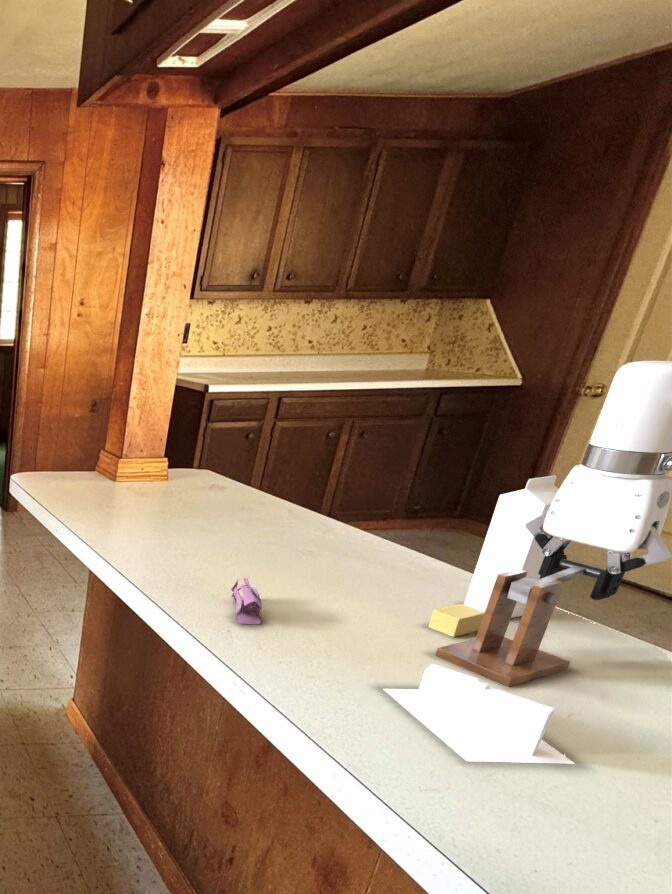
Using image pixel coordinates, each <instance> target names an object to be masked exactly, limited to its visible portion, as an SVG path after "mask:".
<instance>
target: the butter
mask: <svg viewBox="0 0 672 894" xmlns="http://www.w3.org/2000/svg"><path fill="white" fill-rule="evenodd" d="M484 613H485V612H483V611H480V610H477V609H474V608H472V607H469V606H466V605H464V603H457V604H453V605H449V606H445V607H439V608H435V609H433V611H432V614H431V617H430V621H429V624H428V628H429V629H432V630H434V631H437V632H439V633H441V634H445V635H447V636H450V637H453V638H455V637H459V636H462V635H468V634H471V633H474V632H478V630H479V627H480V625H481V622H482V619H483V616H484Z"/></svg>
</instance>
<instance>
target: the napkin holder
mask: <svg viewBox="0 0 672 894" xmlns="http://www.w3.org/2000/svg"><path fill="white" fill-rule="evenodd" d="M382 690H383V691H384V692H385V693H387V695H389V696H390V697H391V698H392V699H393V700H394V701H396V702H397V703H398V704H399V705H400V706H402V707H403V708H404V709H405V710H406V711H407V712H408V713H410V714H411V715H412V716H413V717H414V718H415V719H417V720H418V721H419V722H420V723H421V724H422V725H424V727H426V728H427V729H428V730H430V731H431V732H432V733H433V734H434V735H435V736H436V737H438V738H439V739H440V740H441V741H442V742H443V743H445V744H446V745H447V746H448V747H449V748H450V749H452V750H453V751H454V752H455V753H456V754H458V755H459V757H461V758H462V760H464V761H466V762H478V763H479V762H482V763H483V762H484V763H523V764H525V763H526V764H561V765H563V764H565V765H566V764H568V765H576V762H574V761H572V760H571V759H570V758H568V757H567V756H566V753H564V754H563V753H561V752H560V751H559V750H557V749H556V748H554V747H553V746H552V745H550V744H549V743H547V741H545V740H543V737H544V734H545V732H546V729H547V727H548V724H549V722H550V720H551V718H552V715H553V713H554V710H555V707H552V706H550V705H549V706H548V705H546V704H543V703H539V702H537V701H533V700H531V699H527V698H525V697H522V696H520V695H516V694H513V693H509V692H508V691H503V690H501V689H498V688H495V687H491V686H489V684H488V683H486V682H483V681H480V679H479V678H477V677H474V676H471V675H468V674H465V673H462V672H459V671H456V670H453V669H451V668H447V667H444V666H441V665H438V664H435V663H431V664H430V665H429V666H427V668H425V669H424V672H423V675H422V678H421V681H420V684H419V688H416V689H415V688H382Z"/></svg>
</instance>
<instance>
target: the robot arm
mask: <svg viewBox="0 0 672 894" xmlns="http://www.w3.org/2000/svg"><path fill="white" fill-rule="evenodd" d="M669 472H672V360H637V361H632V362H628V363H624V364H623V365H622V366H620V368H619V369H617V371H616V372H615V374H614V376H613V379H612V381H611V384H610V387H609V389H608V391H607V395H606V398H605V400H604V403H603V406H602V408H601V411H600V413H599V417H598V419H597V422H596V424H595V427H594V429H593V432H592V434H591V437H590V439H589V443H588V445H587V447H586V450H585V452H584V455H583V458H582V460H581V463H580V464H576V465H574V466H573V467H572V469H571V470H570V471H569V473H568V474H567V476H566V477H565V479H564V480H563V481H562V483H561V485H560V487H558V489H559V490H558V492H557V494H556V496H555V498H554V500H553V502H552V504H551V506H550V508H549V510H548V512H546V513H544V514H542V515H541V516H539V517H537V518H535V519H533V520H531V521H529V522H528V523H526V525H525V527H526V528H527V529H528V531H529V532H530V533H531V534H532V535H533V536H534V537H535V540H536V542H537V543H538V544H539V546H540V547H541V549H542V551H541V552H542V554H543V555H544V556H545V557H544V559H543V562H542V565H541V567H540V570H539V575H541V576H540V578H539V579H542V578H545V577H547V576H550V575H553V574H555V573H558V572H561V571H563V569H559V568H557V567H556V564H557V562H558V561H559V560H560V559H566V560H568V554H565V551H566V550H567V549H568V548H569V547H570V546H571V545H572V543H576V544H581V545H585V546H589V547H593V548H597V549H601V550H604V551H605V550H606V557H607V559H606V560H607V561H606V563H607V567H606V569H605V570H606V571H603V572H600V574H599V576H598V579H596V581H595V583H594V586H593V589H592V590H591V593H590V596H589V598H590V599H591V600H594V601H601V600H604V599H607V598H610V597H611V596H614V595H615V594H617V592H618V590H619V588H620V586H621V583H622V580H623V578H624V576H625V574H626V573H627V572H630V571H633V570H636V569H639V568H643V567H645V566H648V565H652V564H657V563H660V562H664V561H669V560H670V559H672V553H671V552H670V550H669V548H668V546H667V545H666V543H665V542H664V540H663V538H662V536H661V534H662V531H663V530H664V529H663V528H664V526H665V523H666V519H667V516H668V513H669V509H670V505H671V500H672V476H671V475H666V474H667V473H669ZM553 536H554V537H553ZM637 550H647V554H645V555H641V556H637V557H634V556H633V555H634V552H637Z"/></svg>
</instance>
